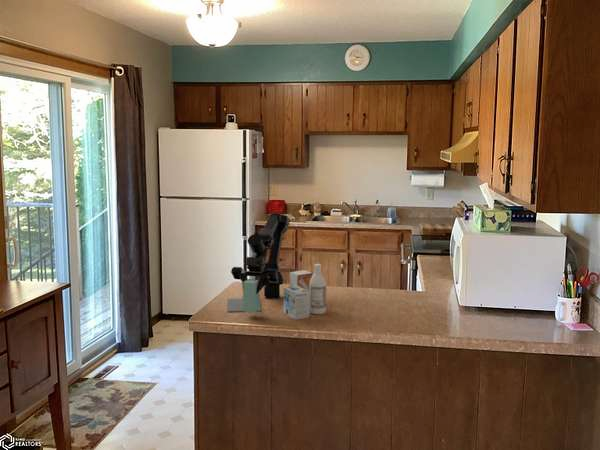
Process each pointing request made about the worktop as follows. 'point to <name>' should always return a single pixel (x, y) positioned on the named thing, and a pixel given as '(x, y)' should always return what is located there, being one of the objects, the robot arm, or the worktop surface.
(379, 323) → the worktop surface
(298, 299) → the light bulb box
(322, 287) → the bath foam
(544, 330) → the worktop surface
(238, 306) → the mat
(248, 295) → the teal block
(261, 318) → the worktop surface
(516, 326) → the worktop surface
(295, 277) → the small box
